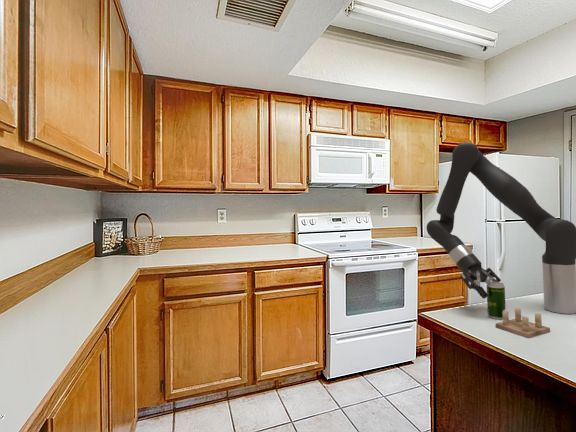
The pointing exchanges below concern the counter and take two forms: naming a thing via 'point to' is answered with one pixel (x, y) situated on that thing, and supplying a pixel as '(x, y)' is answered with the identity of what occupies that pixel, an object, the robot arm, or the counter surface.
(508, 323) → the dowel holder
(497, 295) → the beer can
